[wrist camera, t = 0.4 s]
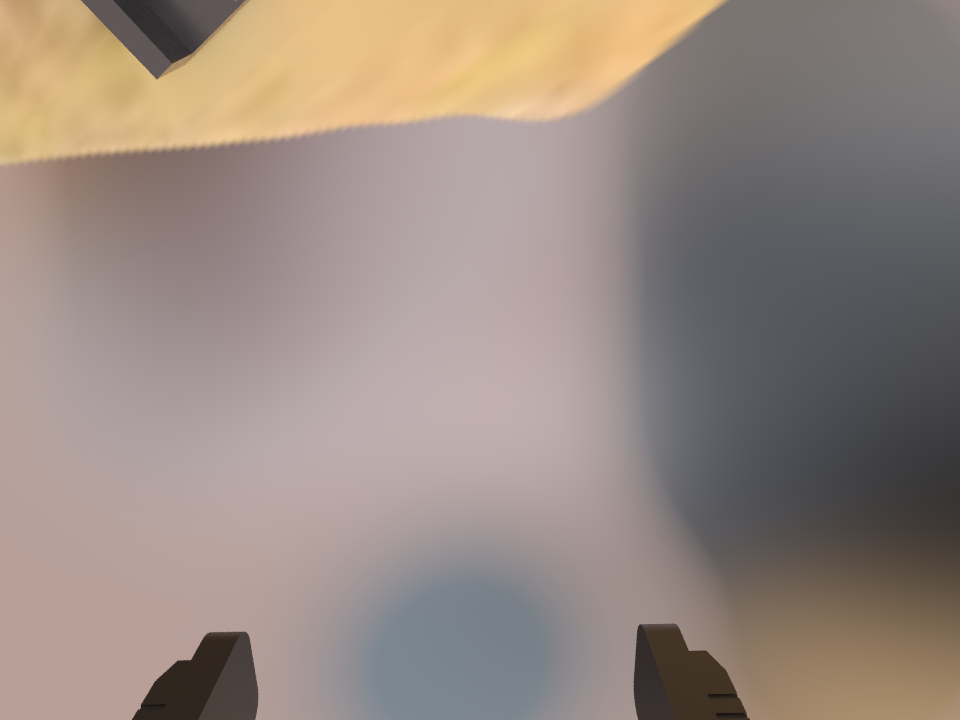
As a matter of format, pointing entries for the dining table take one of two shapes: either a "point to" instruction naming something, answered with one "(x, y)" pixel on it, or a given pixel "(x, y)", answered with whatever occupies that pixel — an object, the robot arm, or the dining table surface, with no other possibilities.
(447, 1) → the dining table surface
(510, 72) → the dining table surface
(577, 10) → the dining table surface
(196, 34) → the rack
